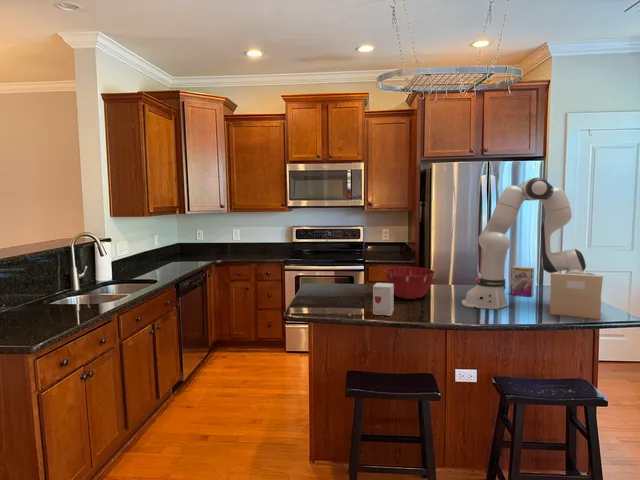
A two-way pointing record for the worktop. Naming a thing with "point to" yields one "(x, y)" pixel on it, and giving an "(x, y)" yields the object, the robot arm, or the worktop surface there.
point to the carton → (575, 307)
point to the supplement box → (383, 299)
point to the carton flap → (576, 285)
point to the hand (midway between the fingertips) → (576, 285)
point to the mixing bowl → (410, 281)
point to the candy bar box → (522, 281)
